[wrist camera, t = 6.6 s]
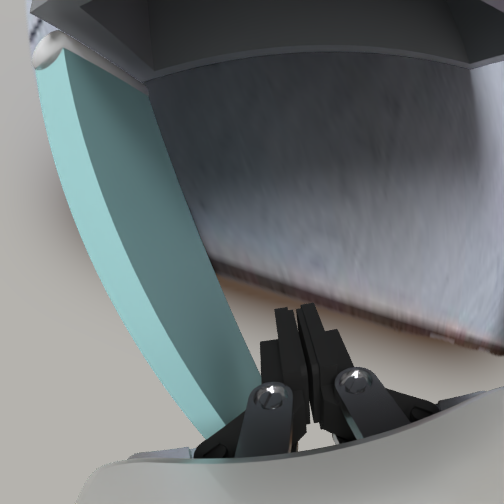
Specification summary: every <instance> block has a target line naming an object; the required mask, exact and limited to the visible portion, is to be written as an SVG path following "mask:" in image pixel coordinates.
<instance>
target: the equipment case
mask: <svg viewBox="0 0 504 504" xmlns="http://www.w3.org/2000/svg"><path fill="white" fill-rule="evenodd" d="M30 13H31V14H33V15H35V16H37V17H38V18H40V19H42V20H44V21H46V22H48V23H49V24H51V25H53V26H55V27H56V28H58V29H60V30H61V31H63V32H65V33H67V34H68V35H70V36H72V37H73V38H75V39H77V40H78V41H80V42H81V43H83V44H85V45H86V46H88V47H89V48H91V49H93V50H94V51H96V52H97V53H99V54H100V55H102V56H103V57H105V58H106V59H108V60H110V61H111V62H113V63H114V64H116V65H117V66H118V67H120V68H121V69H123V70H124V71H126V72H127V73H129V74H130V75H132V76H133V77H134V78H136V79H137V80H139V81H140V82H145V81H148V80H152V79H155V78H158V77H161V76H165V75H168V74H172V73H176V72H179V71H183V70H187V69H191V68H196V67H200V66H205V65H209V64H214V63H219V62H225V61H230V60H236V59H243V58H250V57H257V56H265V55H275V54H286V53H302V52H363V53H377V54H389V55H398V56H406V57H413V58H419V59H425V60H431V61H436V62H441V63H446V64H450V65H455V66H459V67H463V68H467V69H474V68H477V67H481V66H485V65H488V64H492V63H496V62H500V61H504V0H32V4H31V9H30Z"/></svg>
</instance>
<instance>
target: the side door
mask: <svg viewBox="0 0 504 504" xmlns="http://www.w3.org/2000/svg"><path fill="white" fill-rule="evenodd" d="M32 65H33V67H34V68H35V70H36V77H37V84H38V91H39V97H40V102H41V108H42V113H43V118H44V122H45V127H46V131H47V135H48V139H49V143H50V147H51V151H52V155H53V158H54V162H55V165H56V168H57V172H58V175H59V178H60V181H61V184H62V187H63V190H64V193H65V196H66V199H67V202H68V205H69V207H70V210H71V213H72V215H73V218H74V220H75V223H76V225H77V228H78V230H79V233H80V235H81V238H82V240H83V242H84V245H85V247H86V250H87V252H88V254H89V256H90V258H91V261H92V263H93V265H94V267H95V269H96V271H97V273H98V275H99V277H100V280H101V281H102V283H103V286H104V287H105V290H106V292H107V293H108V295H109V297H110V299H111V301H112V303H113V305H114V307H115V308H116V310H117V312H118V314H119V316H120V317H121V319H122V321H123V323H124V325H125V326H126V328H127V330H128V331H129V333H130V335H131V336H132V338H133V340H134V341H135V343H136V345H137V346H138V347H139V349H140V351H141V353H142V354H143V356H144V357H145V359H146V360H147V362H148V363H149V365H150V366H151V368H152V369H153V371H154V372H155V374H156V375H157V377H158V378H159V380H160V381H161V382H162V384H163V385H164V386H165V388H166V389H167V391H168V392H169V394H170V395H171V396H172V398H173V399H174V400H175V402H176V403H177V404H178V406H179V407H180V408H181V410H182V411H183V412H184V413H185V415H186V416H187V417H188V419H189V420H190V421H191V422H192V424H193V425H194V426H195V427H196V428H197V430H198V431H199V432H200V433H201V434H202V436H203V437H204V438H205V439H208V438H209V437H211V436H212V435H213V434H215V433H216V432H217V431H219V430H220V429H222V428H223V427H224V426H226V425H227V424H228V423H230V422H231V421H232V420H233V419H235V418H236V417H237V416H239V415H240V414H241V413H242V412H244V411H245V410H246V406H247V402H248V398H249V395H250V393H251V392H252V390H253V389H254V388H256V387H257V386H259V385H261V375H260V373H259V371H258V369H257V367H256V365H255V362H254V360H253V358H252V356H251V354H250V352H249V349H248V347H247V345H246V343H245V341H244V338H243V337H242V334H241V332H240V330H239V327H238V325H237V323H236V321H235V319H234V316H233V314H232V312H231V309H230V307H229V305H228V303H227V301H226V298H225V296H224V293H223V291H222V289H221V286H220V284H219V282H218V279H217V277H216V275H215V272H214V270H213V267H212V265H211V263H210V260H209V258H208V255H207V253H206V251H205V248H204V246H203V243H202V241H201V238H200V236H199V233H198V231H197V228H196V226H195V223H194V221H193V218H192V216H191V213H190V211H189V208H188V205H187V203H186V200H185V198H184V195H183V192H182V190H181V187H180V185H179V182H178V179H177V177H176V174H175V171H174V168H173V166H172V163H171V160H170V158H169V155H168V152H167V149H166V147H165V144H164V141H163V138H162V135H161V132H160V130H159V127H158V124H157V121H156V118H155V115H154V112H153V109H152V106H151V103H150V100H149V97H148V95H149V91H148V88H147V87H146V86H145V85H144V84H142V83H141V82H140V81H138V80H137V79H135V78H134V77H132V76H131V75H130V74H128V73H127V72H125V71H124V70H122V69H121V68H119V67H118V66H116V65H115V64H113V63H112V62H110V61H109V60H107V59H106V58H104V57H103V56H101V55H100V54H98V53H96V52H95V51H93V50H92V49H90V48H89V47H87V46H85V45H84V44H82V43H81V42H79V41H77V40H76V39H74V38H72V37H71V36H69V35H67V34H66V33H64V32H62V31H60V30H56V31H53V32H50V33H49V34H47V35H46V36H45V37H44V38H43V39H42V40H41V41H40V42H39V44H38V45H37V47H36V48H35V51H34V53H33V56H32Z"/></svg>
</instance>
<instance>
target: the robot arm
mask: <svg viewBox="0 0 504 504" xmlns="http://www.w3.org/2000/svg"><path fill="white" fill-rule="evenodd" d="M296 313H297V322H298V329H297V325H296V321H295V317H294V312H293V310H288V308H287V307H285V308H278V309H275V317H276V325H277V332H278V339H276V340H269V341H262V342H260V355H261V385H259V386H257V387H256V388H254V389H253V390H252V392H251V393H250V395H249V398H248V402H247V406H246V410H245V411H244V412H242V413H241V414H240V415H239V416H237V417H236V418H235V419H233V420H232V421H231V422H230V423H228V424H227V425H226V426H224V427H223V428H222V429H220V430H219V431H217V432H216V433H215V434H213V435H212V436H211V437H209V438H208V439H206V440H205V441H204V442H202V443H201V444H200V445H199V446H198V447H197V448H194V449H189V447H184V448H177V449H170V450H162V451H152V452H141V453H137V454H134V455H132V456H130V457H129V458H128V459H127V460H122V461H117V462H113V463H109V464H106V465H104V466H101V467H100V468H98V469H96V470H95V471H94V472H93V473H92V474H91V475H90V476H89V478H88V479H87V481H86V483H85V484H84V486H83V488H82V490H81V492H80V494H79V496H78V499H77V501H76V503H75V504H504V387H500V388H496V389H493V390H490V391H487V392H486V391H479V392H475V393H471V394H467V395H463V396H459V397H454V398H450V399H445V400H440V401H438V404H433V403H431V402H429V401H427V400H423V399H419V398H416V397H413V396H409V395H406V394H402V393H399V392H396V391H393V390H389V389H387V388H385V387H384V386H383V384H382V383H381V382H380V380H379V379H378V378H377V376H376V375H375V374H374V373H373V372H372V371H371V370H368V369H366V368H362V367H354V366H353V363H352V361H351V359H350V356H349V354H348V352H347V350H346V347H345V345H344V343H343V341H342V338H341V336H340V334H339V332H338V330H337V329H334V330H329V331H325V330H324V328H323V325H322V323H321V320H320V317H319V315H318V312H317V310H316V307H315V305H314V303H309V304H303V305H301V308H300V309H296ZM309 401H310V406H311V411H312V415H313V420H314V423H317V422H319V424H320V428H321V429H324V430H326V431H328V432H330V433H332V437H333V440H334V442H335V444H336V445H333V446H328V447H323V448H318V449H312V450H306V451H300V452H298V441H299V440H300V438H302V437H303V436H304V434H305V433H306V432H307V431H306V424H310V408H309Z"/></svg>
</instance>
